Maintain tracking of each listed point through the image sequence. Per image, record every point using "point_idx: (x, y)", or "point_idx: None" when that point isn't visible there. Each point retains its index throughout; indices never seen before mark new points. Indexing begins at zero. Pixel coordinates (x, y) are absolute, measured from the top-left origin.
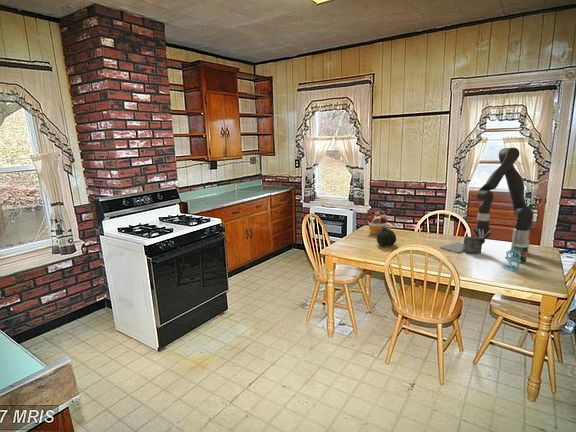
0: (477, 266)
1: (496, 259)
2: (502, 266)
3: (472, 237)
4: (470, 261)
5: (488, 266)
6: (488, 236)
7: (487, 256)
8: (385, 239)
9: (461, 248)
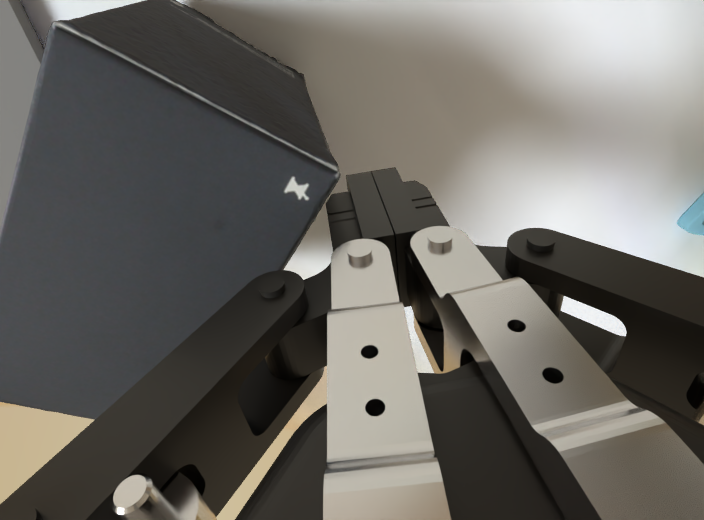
0: None
1: (560, 75)
2: (687, 230)
3: (114, 309)
4: (419, 352)
5: (579, 309)
6: (610, 272)
7: (424, 81)
8: None
9: (9, 187)
